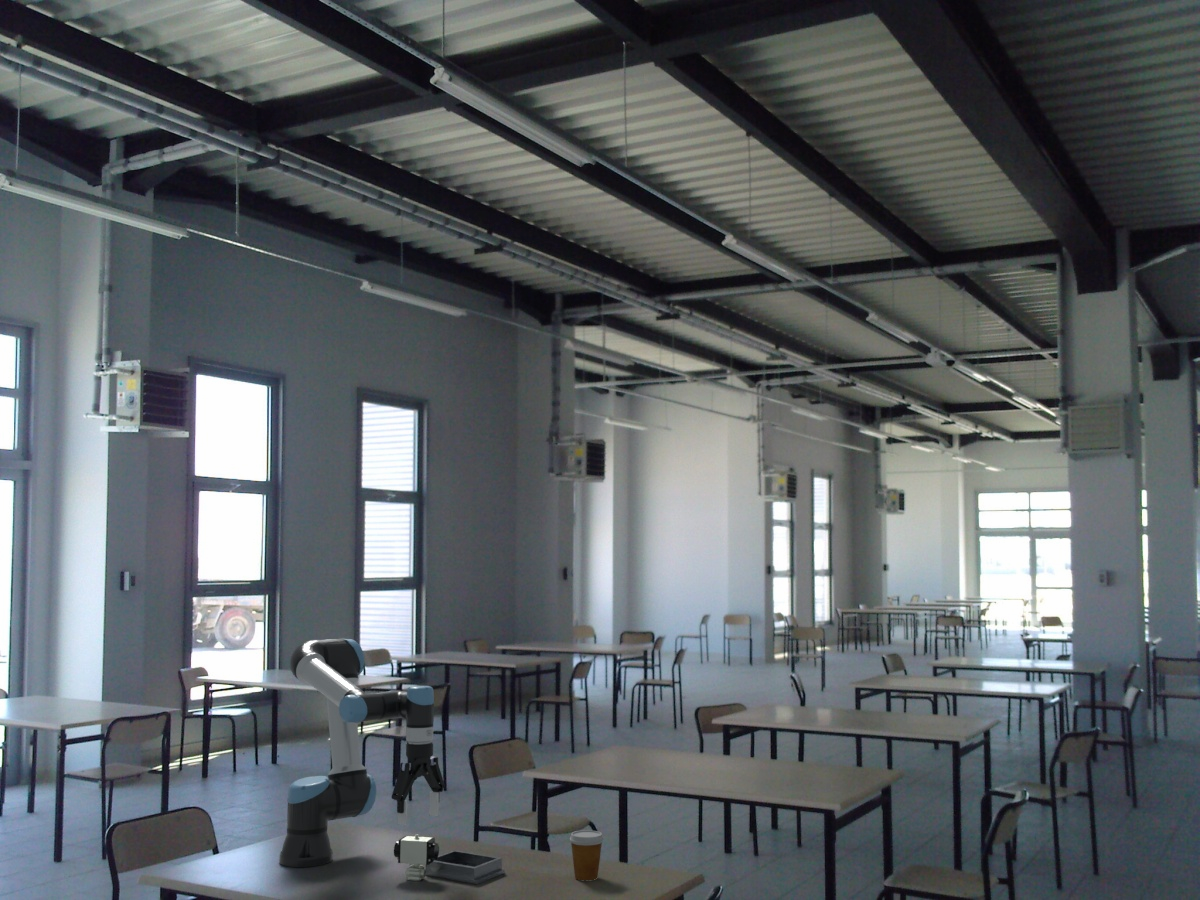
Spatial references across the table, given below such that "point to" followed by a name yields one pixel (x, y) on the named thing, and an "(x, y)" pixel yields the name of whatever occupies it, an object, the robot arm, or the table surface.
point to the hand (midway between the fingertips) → (418, 820)
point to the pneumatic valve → (416, 854)
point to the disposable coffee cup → (586, 853)
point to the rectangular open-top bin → (465, 867)
